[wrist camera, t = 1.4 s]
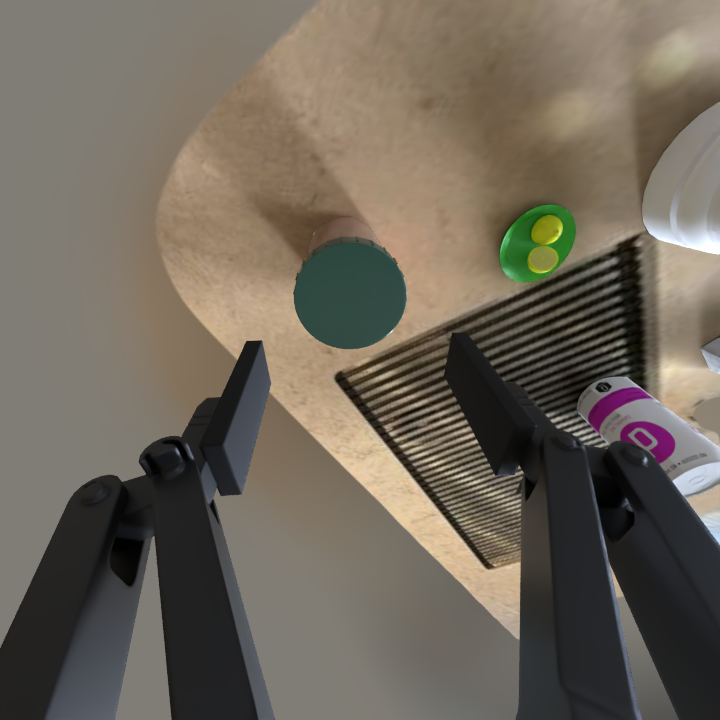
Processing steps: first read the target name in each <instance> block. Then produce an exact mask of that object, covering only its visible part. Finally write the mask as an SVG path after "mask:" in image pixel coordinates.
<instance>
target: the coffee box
mask: <svg viewBox="0 0 720 720" xmlns="http://www.w3.org/2000/svg"><path fill="white" fill-rule="evenodd" d="M701 351H702V353H703V356H704V358H705V360H706V363H707V365H708V367H709V369H710V370H712V371H714V372H716V373H718V374H720V337H719V338H717V339H715V340H714V341H712V342H710V343H709V344H707V345H705V346H703V347H702V348H701Z"/></svg>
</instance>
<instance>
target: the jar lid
mask: <svg viewBox="0 0 720 720" xmlns="http://www.w3.org/2000/svg"><path fill="white" fill-rule="evenodd" d="M397 264H398V263H397V262H396V260H395V258H392V256H391V255H390V254H389V253H388V252H387V251H386V249H385V248H384V247H381V246H380V245H378V244H376V243H374V242H373V241H372V240H367V239H364V238H360V237H357V236H356V237H342V236H340V238H335V239H332V240H330V241H327V240H326V241H325V243H323V244H321V245H320V246H318V247H317V248H316V249H313V251H312V252H311V253H310V254H309V255H308V257H307V258H306V259H305V260H303V263H302V266H301V268H300V271H299V273H297V276H296V280H297V281H296V285H295V289H294V293H293V294H294V304H295V309H296V312H297V315H298V317H299V319H300V321H301V323H302V325H303V326H304V327H305V329H306V330H307V331H308V332H309V333H310V334H311V335H312V336H313V337H315V338H316V339H317V340H319V341H321V342H323V343H324V344H327V345H329V346H332V347H336V348H341V349H358V348H363V347H367V346H370V345H373V344H375V343H377V342H379V341H380V340H382V339H384V338H385V337H386V336H387V335H389V334H390V333H391V332H392V331H393V330H394V328H395V327H396V326H397V325H398V323H399V321H400V320H401V318H402V315H403V313H404V310H405V307H406V301H407V289H406V284H405V280H404V275H403V273H402V272H401V270H400V269H399V267H398V266H397Z"/></svg>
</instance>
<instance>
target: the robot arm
mask: <svg viewBox="0 0 720 720" xmlns="http://www.w3.org/2000/svg"><path fill="white" fill-rule="evenodd" d="M444 376H445V378H446V380H447V382H448V384H449V386H450V388H451V390H452V392H453V394H454V395H455V397H456V399H457V401H458V403H459V405H460V407H461V409H462V411H463V413H464V415H465V417H466V419H467V421H468V423H469V425H470V427H471V429H472V431H473V433H474V435H475V436H476V438H477V440H478V442H479V444H480V446H481V448H482V450H483V452H484V454H485V456H486V458H487V460H488V462H489V464H490V466H491V468H492V470H493V472H494V474H495V476H506V475H515V473H516V471H517V469H518V466H519V465H520V467H521V469H522V470H523V472H524V476H523V478H522V480H521V482H520V484H519V486H518V488H517V491H516V493H518V494H519V493H520V491H521V489H522V502H521V582H520V663H519V707H518V713H517V716H516V720H642V719H641V715H640V712H639V707H638V702H637V697H636V693H635V687H634V682H633V678H632V672H631V668H630V663H629V658H628V653H627V648H626V643H625V638H624V633H623V628H622V624H621V619H620V614H619V609H618V604H617V599H616V594H615V589H614V584H613V579H612V574H611V570H610V565H611V567H612V570H613V572H614V574H615V576H616V579H617V581H618V583H619V585H620V588H621V590H622V592H623V594H624V597H625V599H626V601H627V603H628V606H629V608H630V610H631V612H632V615H633V617H634V619H635V622H636V624H637V626H638V628H639V631H640V633H641V635H642V637H643V640H644V642H645V644H646V646H647V649H648V651H649V653H650V655H651V657H652V660H653V662H654V664H655V667H656V669H657V671H658V673H659V676H660V678H661V680H662V682H663V685H664V687H665V689H666V691H667V694H668V696H669V698H670V700H671V703H672V705H673V707H674V709H675V712H676V714H677V716H678V718H679V720H720V545H719V543H718V542H717V541H716V539H715V538H714V537H713V535H712V534H711V533H710V531H709V530H708V529H707V527H706V526H705V525H704V523H703V522H702V521H701V519H700V518H699V517H698V515H697V514H696V513H695V511H694V510H693V509H692V507H691V506H690V504H689V503H688V502H687V500H686V499H685V498H684V496H683V495H682V494H681V492H680V491H679V490H678V488H677V487H676V486H675V484H674V483H673V482H672V480H671V479H670V478H669V476H668V475H667V474H666V472H665V471H664V470H663V468H662V467H661V466H660V464H659V463H658V462H657V460H656V459H655V458H654V457H653V456H652V455H651V454H650V453H649V452H648V451H646V450H645V449H643V448H642V447H640V446H638V445H636V444H633V443H630V442H626V441H614V442H612V443H611V444H610V446H609V447H608V448H607V449H603V448H598V447H593V446H587V445H584V444H583V443H582V442H581V441H580V440H579V439H578V438H577V437H575V436H574V435H572V434H571V433H568V432H566V431H563V430H558V429H557V428H556V427H555V426H554V424H553V423H552V422H551V421H550V420H549V418H548V417H547V416H546V415H545V414H544V412H543V411H542V410H541V409H540V408H539V406H538V405H536V403H535V401H534V400H533V399H531V397H530V395H529V394H528V393H527V392H526V391H525V389H524V388H522V387H521V386H519V385H518V384H516V383H515V382H504V381H503V380H502V378H501V377H500V376H499V374H498V373H497V372H496V370H495V369H494V368H493V367H492V365H491V364H490V363H489V361H488V360H487V359H486V357H485V356H484V355H483V353H482V352H481V351H480V349H479V348H478V347H477V346H476V344H475V343H474V342H473V340H472V339H471V338H470V336H469V335H468V334H467V332H461V333H452V336H451V341H450V347H449V352H448V357H447V362H446V368H445V373H444ZM270 386H271V381H270V376H269V371H268V366H267V362H266V357H265V352H264V347H263V343H262V340H261V341H246V343H245V345H244V348H243V350H242V352H241V354H240V356H239V359H238V361H237V363H236V365H235V367H234V370H233V372H232V374H231V376H230V379H229V381H228V383H227V385H226V387H225V389H224V391H223V394H222V396H221V397H218V398H207V399H205V400H204V401H203V402H202V403H201V404H200V405H199V406H198V407H197V408H196V411H195V412H194V414H193V416H192V418H191V420H190V422H189V424H188V426H187V427H186V429H185V431H184V433H183V435H182V437H179V436H169V437H165V438H161V439H159V440H157V441H155V442H153V443H152V444H151V445H149V446H148V447H147V448H146V449H145V450H144V451H143V452H142V454H141V455H140V459H139V463H140V465H141V466H142V468H143V469H144V471H145V473H146V475H144V476H141V477H137V478H134V479H131V480H128V481H125V482H121V480H120V479H119V478H118V477H117V476H114V475H105V476H100V477H98V478H95V479H92V480H91V481H89V482H87V483H86V484H84V485H83V486H81V487H80V488H79V489H78V490H77V491H76V492H75V493H74V494H73V496H72V497H71V498H70V500H69V502H68V504H67V506H66V508H65V510H64V513H63V515H62V517H61V519H60V521H59V523H58V525H57V528H56V530H55V532H54V534H53V536H52V539H51V540H50V543H49V545H48V547H47V549H46V551H45V553H44V555H43V558H42V560H41V562H40V564H39V566H38V568H37V570H36V573H35V575H34V577H33V579H32V581H31V584H30V586H29V588H28V590H27V592H26V594H25V596H24V599H23V601H22V603H21V605H20V607H19V609H18V611H17V613H16V616H15V618H14V620H13V622H12V624H11V626H10V628H9V631H8V633H7V635H6V637H5V639H4V641H3V644H2V646H1V648H0V720H115V716H116V711H117V706H118V701H119V696H120V691H121V687H122V682H123V677H124V672H125V667H126V662H127V657H128V652H129V647H130V642H131V638H132V633H133V628H134V623H135V618H136V613H137V608H138V603H139V598H140V593H141V588H142V583H143V579H144V574H145V569H146V564H147V559H148V554H149V549H150V543H151V539H152V537H153V536H155V545H156V556H157V566H158V577H159V588H160V598H161V610H162V620H163V630H164V641H165V653H166V663H167V674H168V685H169V696H170V707H171V716H172V717H171V718H172V720H275V718H274V714H273V710H272V707H271V703H270V699H269V696H268V692H267V689H266V685H265V681H264V678H263V674H262V670H261V667H260V664H259V660H258V656H257V652H256V649H255V645H254V641H253V638H252V634H251V631H250V627H249V624H248V620H247V616H246V613H245V609H244V605H243V602H242V598H241V595H240V591H239V587H238V584H237V580H236V576H235V573H234V569H233V565H232V562H231V558H230V554H229V551H228V547H227V544H226V540H225V536H224V533H223V529H222V526H221V522H220V518H219V515H218V511H217V508H216V504H215V502H214V499H213V497H214V494H215V491H216V488H218V491H219V493H220V495H221V496H225V495H240V494H242V492H243V488H244V484H245V481H246V476H247V473H248V469H249V466H250V462H251V458H252V454H253V450H254V446H255V443H256V439H257V435H258V431H259V427H260V423H261V420H262V416H263V412H264V409H265V404H266V401H267V397H268V393H269V390H270ZM629 504H630V505H629ZM630 506H631V507H630ZM609 563H610V565H609Z"/></svg>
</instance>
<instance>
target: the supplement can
mask: <svg viewBox="0 0 720 720" xmlns="http://www.w3.org/2000/svg"><path fill="white" fill-rule="evenodd" d="M577 410H578V412H579V414H580V415H581V416H582V417H583V418H584V419H585V420H586V421H587V422H588V423H589V424H590V425H591V426H592V427H593V429H594V430H595V431H596V432H597V433H598V434H599V435H600V436H601V437H602V438H603V439H604V440H605V441H606V442H607V443H608V444H609V445H610V444H611V443H612V442H614V441H626V442H630V443H633V444H636V445H638V446H640V447H642V448H643V449H645V450H646V451H648V452H649V453H650V454H651V455H652V456H653V457H654V458H655V459H656V460H657V462H658V463H659V464H660V466H661V467H662V468H663V470H664V471H665V472H666V474H667V475H668V476H669V478H670V479H671V480H672V482H673V483H674V484H675V486H676V487H677V488H678V490H679V491H680V492H681V494H682V495H683V496H684V498H689V497H693V496H696V495H700V494H702V493H704V492H707V491H709V490H711V489H713V488H715V487H716V486H718V485H720V448H719V447H718V446H717V445H715V444H714V443H713V442H711V441H710V440H709V439H707V438H706V437H705V436H703V435H702V434H701V433H700V432H698V431H697V430H696V429H694V428H693V427H692V426H690V425H689V424H688V423H686V422H685V421H684V420H682V419H681V418H680V417H678V416H677V415H676V414H674V413H673V412H672V411H671V410H669V409H668V408H667V407H665V406H664V405H663V404H661V403H660V402H659V401H657V400H656V399H655V398H653V397H652V396H651V395H649V394H648V393H647V392H645V391H644V390H643V389H641V388H640V387H639V386H638V385H636V384H635V383H634V382H632V381H631V380H630V379H628V378H625V377H620V376H619V377H608V378H604V379H601V380H598V381H596V382H595V383H593V384H591V385H590V386H588V387H587V388H586V389H585V390H584V391H583V392H582V394H581V395H580V397H579V400H578V405H577Z"/></svg>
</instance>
